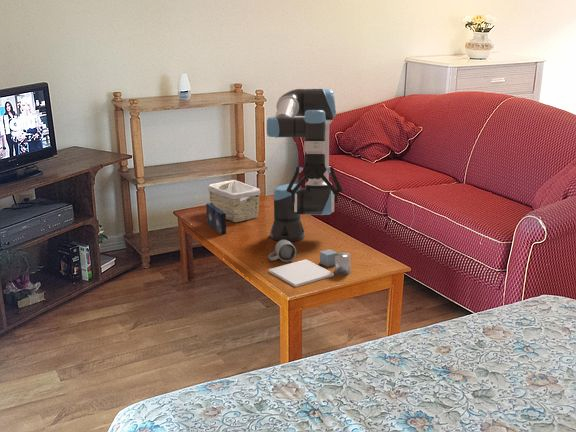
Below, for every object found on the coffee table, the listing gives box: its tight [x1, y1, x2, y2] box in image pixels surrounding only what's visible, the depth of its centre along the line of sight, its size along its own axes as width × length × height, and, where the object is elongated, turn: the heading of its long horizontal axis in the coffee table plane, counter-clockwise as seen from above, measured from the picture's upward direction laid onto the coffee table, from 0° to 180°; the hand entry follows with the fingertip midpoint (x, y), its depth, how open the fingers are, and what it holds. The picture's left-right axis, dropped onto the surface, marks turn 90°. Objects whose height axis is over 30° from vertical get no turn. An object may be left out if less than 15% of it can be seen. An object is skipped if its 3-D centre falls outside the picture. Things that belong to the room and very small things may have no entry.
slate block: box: [319, 248, 338, 268], centre depth 268 cm, size 5×5×5 cm
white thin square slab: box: [268, 259, 335, 288], centre depth 259 cm, size 18×18×1 cm
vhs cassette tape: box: [205, 202, 227, 235], centre depth 309 cm, size 18×3×10 cm, turn 26°
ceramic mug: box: [268, 240, 297, 263], centre depth 273 cm, size 11×8×8 cm
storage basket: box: [207, 179, 261, 223], centre depth 328 cm, size 24×16×15 cm
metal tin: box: [334, 252, 352, 276], centre depth 259 cm, size 6×6×7 cm
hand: (314, 211), depth 246 cm, fingers open, 13 cm apart
